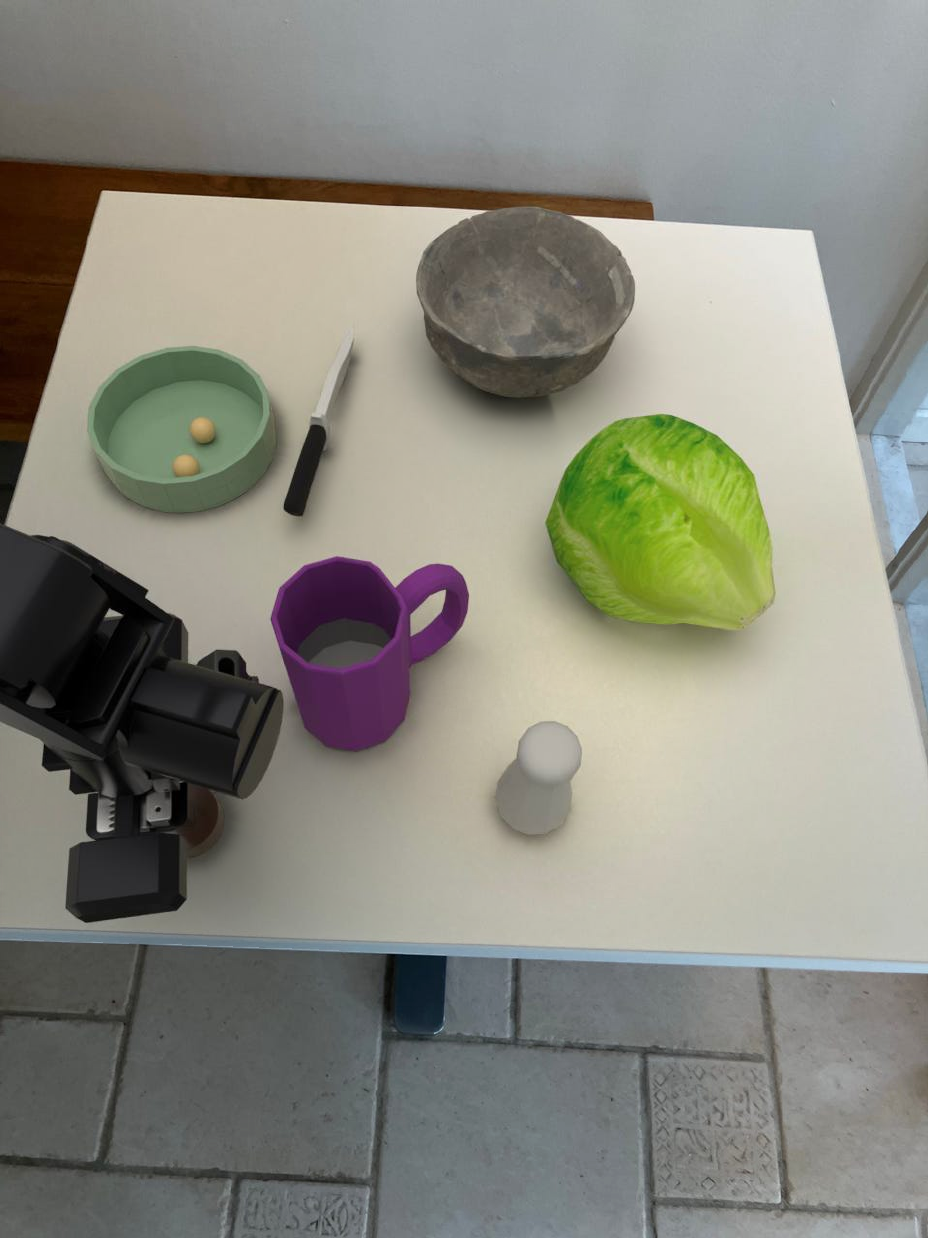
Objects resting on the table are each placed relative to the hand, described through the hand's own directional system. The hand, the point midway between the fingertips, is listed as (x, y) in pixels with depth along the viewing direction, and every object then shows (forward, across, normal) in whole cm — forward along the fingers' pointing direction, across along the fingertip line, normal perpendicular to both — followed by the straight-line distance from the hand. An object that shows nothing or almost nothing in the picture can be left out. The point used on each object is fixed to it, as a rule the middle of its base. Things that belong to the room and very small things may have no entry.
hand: (167, 797), depth 61 cm
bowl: (+7, +45, -33) cm, 56 cm away
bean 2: (+6, +37, -2) cm, 38 cm away
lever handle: (+6, 0, 0) cm, 6 cm away
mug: (+7, +10, -16) cm, 20 cm away
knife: (+7, +37, -13) cm, 40 cm away
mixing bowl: (+6, +37, 0) cm, 38 cm away
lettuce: (+7, +17, -40) cm, 44 cm away
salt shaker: (+7, -2, -26) cm, 27 cm away
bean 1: (+6, +33, 0) cm, 33 cm away
